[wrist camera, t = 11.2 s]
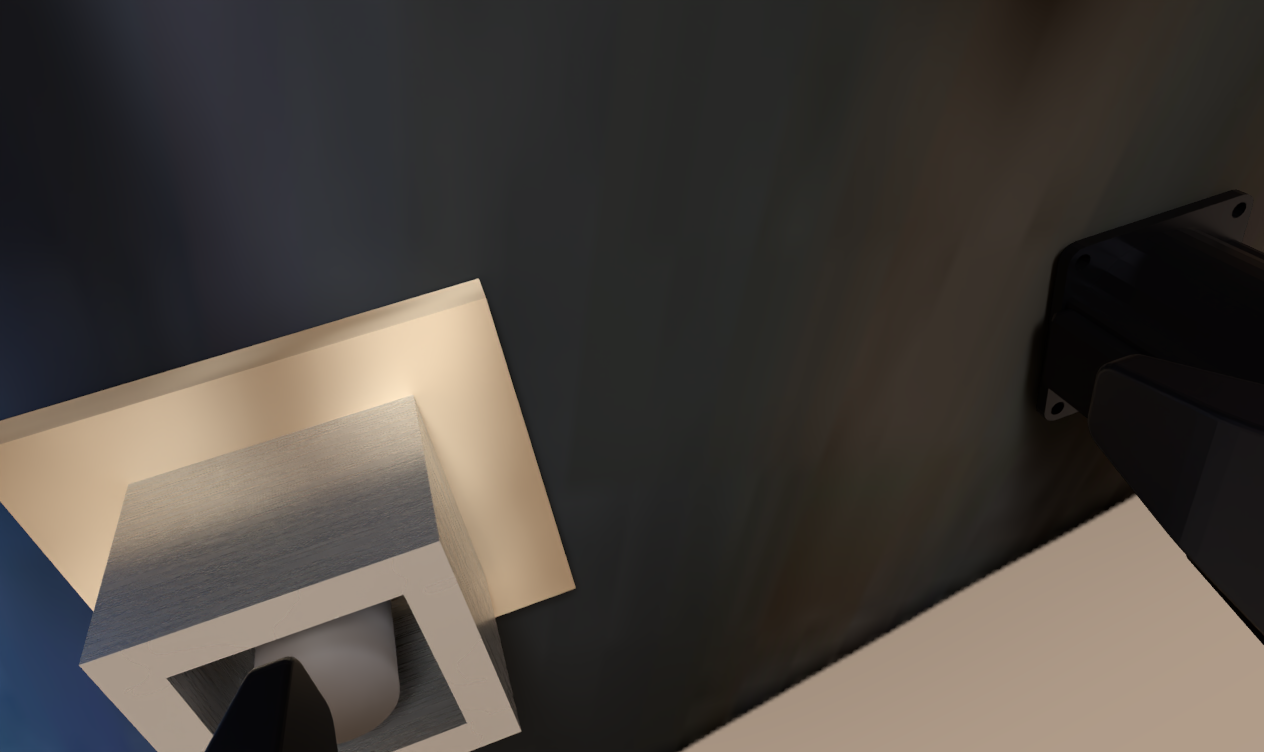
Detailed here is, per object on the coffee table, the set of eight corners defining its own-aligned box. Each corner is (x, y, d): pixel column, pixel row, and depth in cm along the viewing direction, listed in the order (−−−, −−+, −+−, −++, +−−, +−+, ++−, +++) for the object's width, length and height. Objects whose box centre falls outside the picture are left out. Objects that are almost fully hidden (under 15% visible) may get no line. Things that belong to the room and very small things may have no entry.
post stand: (478, 278, 20) (533, 425, 15) (567, 564, 26) (627, 735, 21) (-23, 427, 18) (-143, 648, 13) (195, 697, 24) (167, 918, 19)
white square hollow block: (413, 394, 20) (439, 540, 16) (485, 576, 23) (521, 731, 19) (128, 484, 19) (78, 664, 15) (251, 658, 22) (238, 840, 18)
